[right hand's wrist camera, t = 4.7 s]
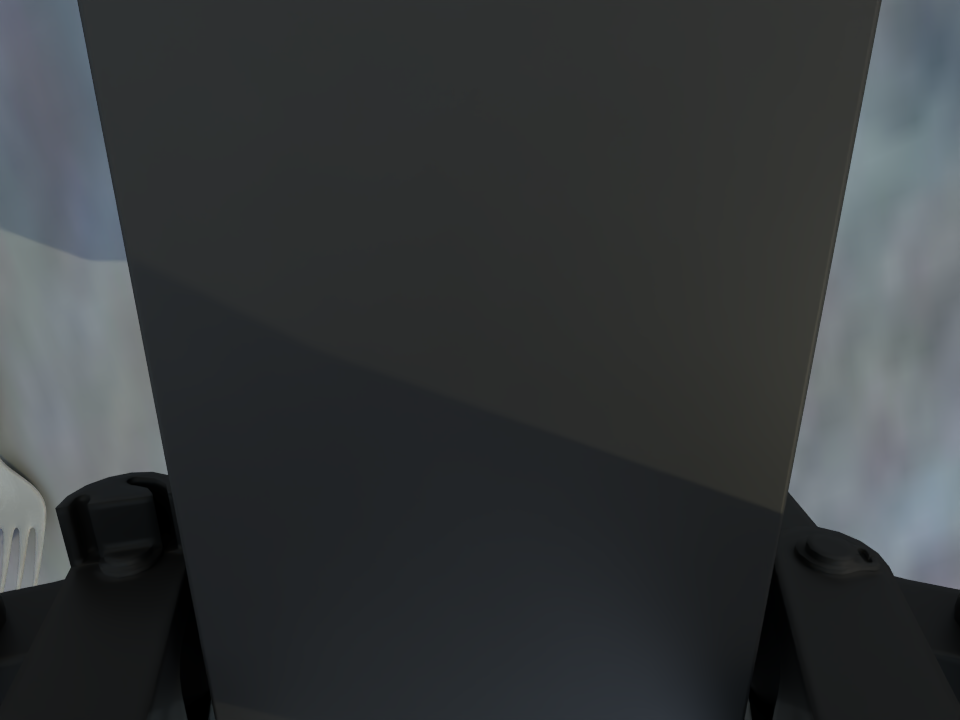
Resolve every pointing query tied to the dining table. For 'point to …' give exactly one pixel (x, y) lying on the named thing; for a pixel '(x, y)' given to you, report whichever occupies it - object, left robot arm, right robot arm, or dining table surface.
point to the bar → (479, 335)
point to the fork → (20, 520)
